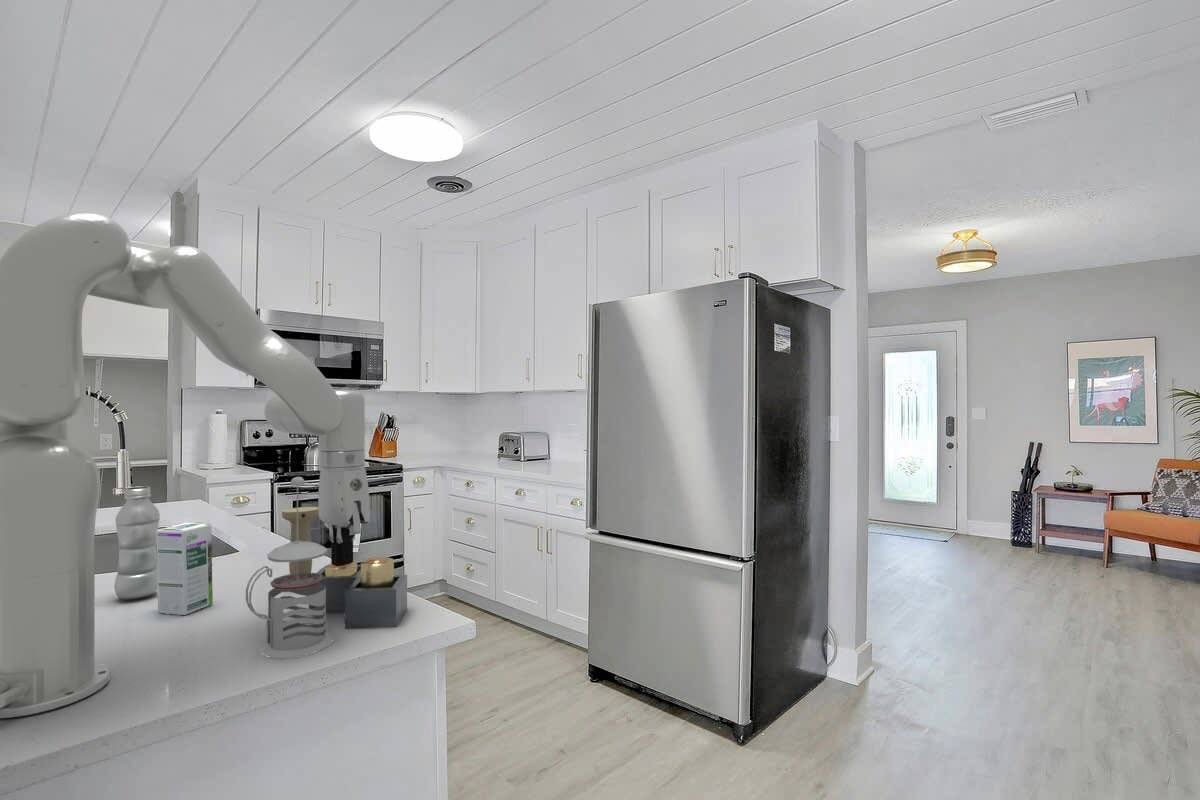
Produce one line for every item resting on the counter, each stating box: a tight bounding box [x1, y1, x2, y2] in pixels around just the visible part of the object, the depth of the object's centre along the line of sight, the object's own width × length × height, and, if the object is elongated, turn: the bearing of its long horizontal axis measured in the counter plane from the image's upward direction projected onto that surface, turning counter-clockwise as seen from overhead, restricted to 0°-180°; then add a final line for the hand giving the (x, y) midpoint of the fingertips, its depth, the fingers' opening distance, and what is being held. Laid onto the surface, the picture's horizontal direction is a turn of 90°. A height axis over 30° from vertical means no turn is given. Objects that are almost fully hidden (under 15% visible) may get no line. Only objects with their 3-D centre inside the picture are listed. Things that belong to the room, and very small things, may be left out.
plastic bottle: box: [113, 485, 161, 600], centre depth 112 cm, size 6×7×20 cm
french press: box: [245, 476, 334, 659], centre depth 91 cm, size 10×12×25 cm
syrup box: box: [156, 521, 214, 616], centre depth 106 cm, size 6×6×14 cm
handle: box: [281, 506, 319, 575], centre depth 118 cm, size 5×6×15 cm
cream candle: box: [324, 561, 358, 577], centre depth 108 cm, size 5×5×6 cm
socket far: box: [308, 564, 361, 614], centre depth 108 cm, size 8×8×6 cm
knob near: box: [360, 556, 395, 588], centre depth 102 cm, size 5×5×6 cm
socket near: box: [344, 574, 408, 629], centre depth 102 cm, size 8×8×6 cm
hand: (342, 563), depth 108 cm, fingers closed
